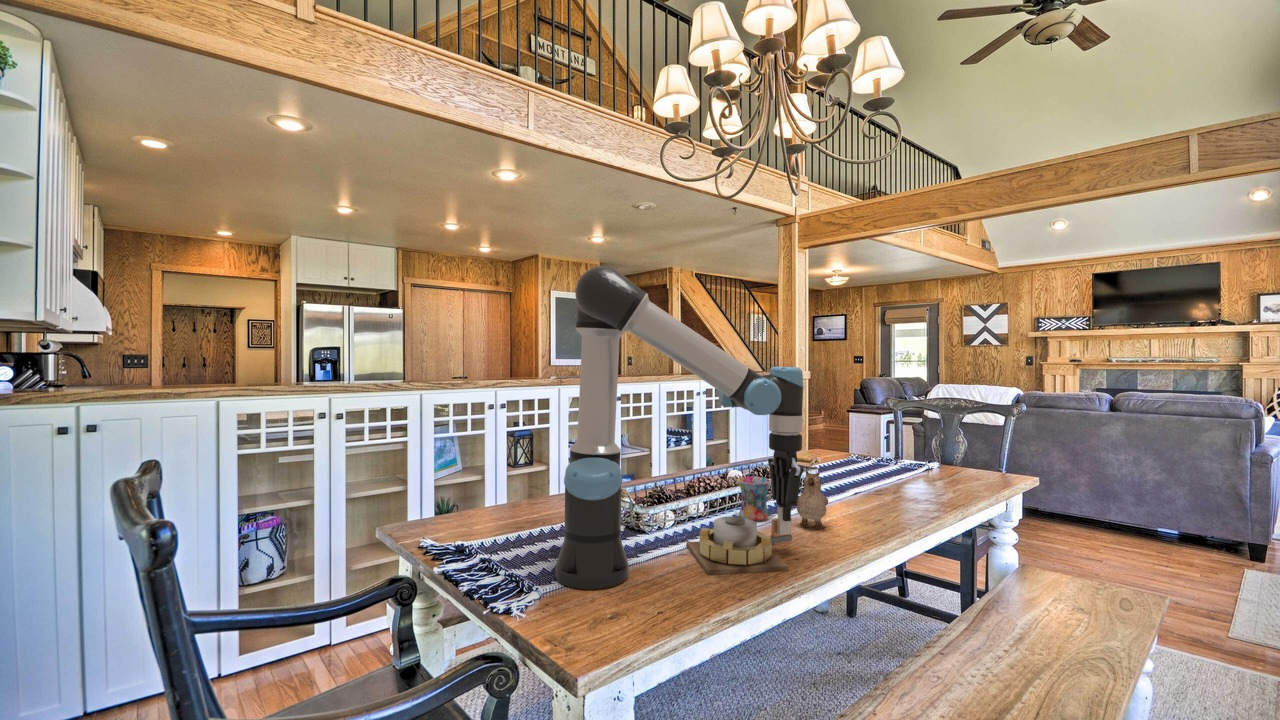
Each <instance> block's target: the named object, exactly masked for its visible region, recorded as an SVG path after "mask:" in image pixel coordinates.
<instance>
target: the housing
mask: <svg viewBox="0 0 1280 720" xmlns="http://www.w3.org/2000/svg"><path fill="white" fill-rule="evenodd" d="M713 529H714V543H715V544H719V545H723V543H724V541H731V542H734V547H741V548H745V547H752V546H756V542H757V531H758V530H757V529H758V523H757V522H756V520H751V519H747V518H742V517H741V516H722V517H718V518H716V519H714V521H713ZM685 543H686V544H685V545H686V548H687V549H688V551H689V552H690V553H691V555H692V556H693V557H694V559H695V560H696V562H697V563H698V564H699V565H700V566H701V568H702V570H704V572H705V573H706V575H707V576H709V575H713V576H714V575H726V574H727V575H729V574H730V575H731V574H745V573H746V574H747V573H765V572H766V573H767V572H781V571H782V572H784V571H785V572H786V571H789V565H788V564H787V563H786V562H785V561H784V559H781V558H780V557H779V556H778V555H777V554H776V553H774V552H773V551H772V556H771V557H770V558H769V559H767V560H766V561H765V562H761V563H755V564H749V565H748V564H746V565H740V564H728V563H721V562H717V561H713V560H710V559H708V558H706V557H705V556H703V555H702V554H700V553H699V541H686V542H685Z"/></svg>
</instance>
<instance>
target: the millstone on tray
mask: <svg viewBox="0 0 1280 720" xmlns="http://www.w3.org/2000/svg"><path fill="white" fill-rule="evenodd" d="M792 519H793V518H792V517H791V520H792ZM777 522H778V517H777V518H771V528H770V529H771V532H770V533H771V534H770V535H767V534H764V533H762V532H760V531H758V530H757V542H756V546H752V547H745V548H741V547H734V542H731V541H724V543H723V545H719V544H715V543H714V528H707V527H702V528H700V530H699V553H700V554H702V555H703V556H705V557H706V558H708V559H710V560H713V561H717V562H721V563H728V564H740V565H746V564H748V565H749V564H755V563H761V562H765V561H766V560H767V559H769V558H770V557H771V556H772V552H773V547H774V546H781V545H788V544H792V541H793V534H792V533H791V534H785V535H779V534H778V533H777Z"/></svg>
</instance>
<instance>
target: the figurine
mask: <svg viewBox="0 0 1280 720" xmlns="http://www.w3.org/2000/svg"><path fill="white" fill-rule="evenodd" d="M828 504H829V499H828V497H827V496H824V495H823V493H822V482H821V478H820V472H816V473H810V472H809V471H808V470H806V471H805V477H804V478H803V490H802V493H801V494H800V495H798V500H797V505H796V511H797V514H798V515H799V516H800V517H801V522H800V523H799V525H798V526H803V528H807V527H810V524H809V523H808V520H813V521H814V525H812V528H815V529H818V530H821V529H825V528H826V527H825V526H824V525H823V523H822V518H824V517H825V515H826V514H827V505H828Z"/></svg>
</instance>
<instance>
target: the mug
mask: <svg viewBox="0 0 1280 720" xmlns="http://www.w3.org/2000/svg"><path fill="white" fill-rule="evenodd" d="M737 483H738V485H739V488H740V491H741V507H740V509H739V512H738V517H742V518H747V519H751V520H753V521H764V520H766V519H767V520H768V518H770V513H769V510H768V506H767V502H768V500H770V498H771V497H772V488H771V490H770V487H771V479H769V478H765V477H761V476H743V477H742V476H741V477H738V479H737ZM769 490H770V493H769V494H768V492H769Z"/></svg>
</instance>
